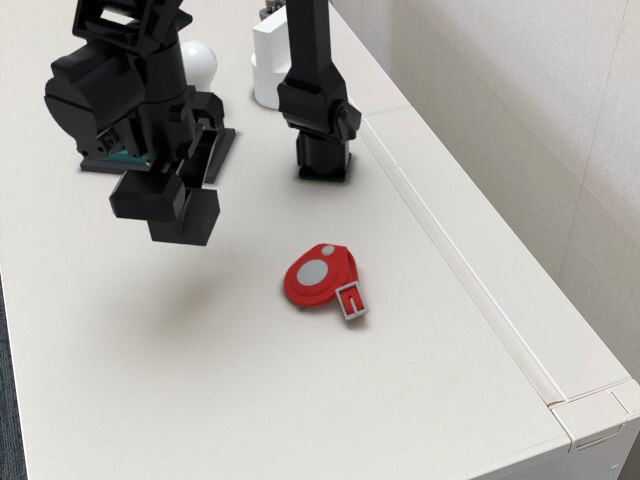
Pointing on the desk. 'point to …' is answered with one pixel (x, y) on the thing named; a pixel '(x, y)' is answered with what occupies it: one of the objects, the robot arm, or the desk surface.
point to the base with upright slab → (270, 57)
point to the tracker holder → (326, 280)
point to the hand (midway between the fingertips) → (185, 218)
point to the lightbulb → (199, 64)
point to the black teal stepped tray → (122, 163)
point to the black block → (193, 220)
